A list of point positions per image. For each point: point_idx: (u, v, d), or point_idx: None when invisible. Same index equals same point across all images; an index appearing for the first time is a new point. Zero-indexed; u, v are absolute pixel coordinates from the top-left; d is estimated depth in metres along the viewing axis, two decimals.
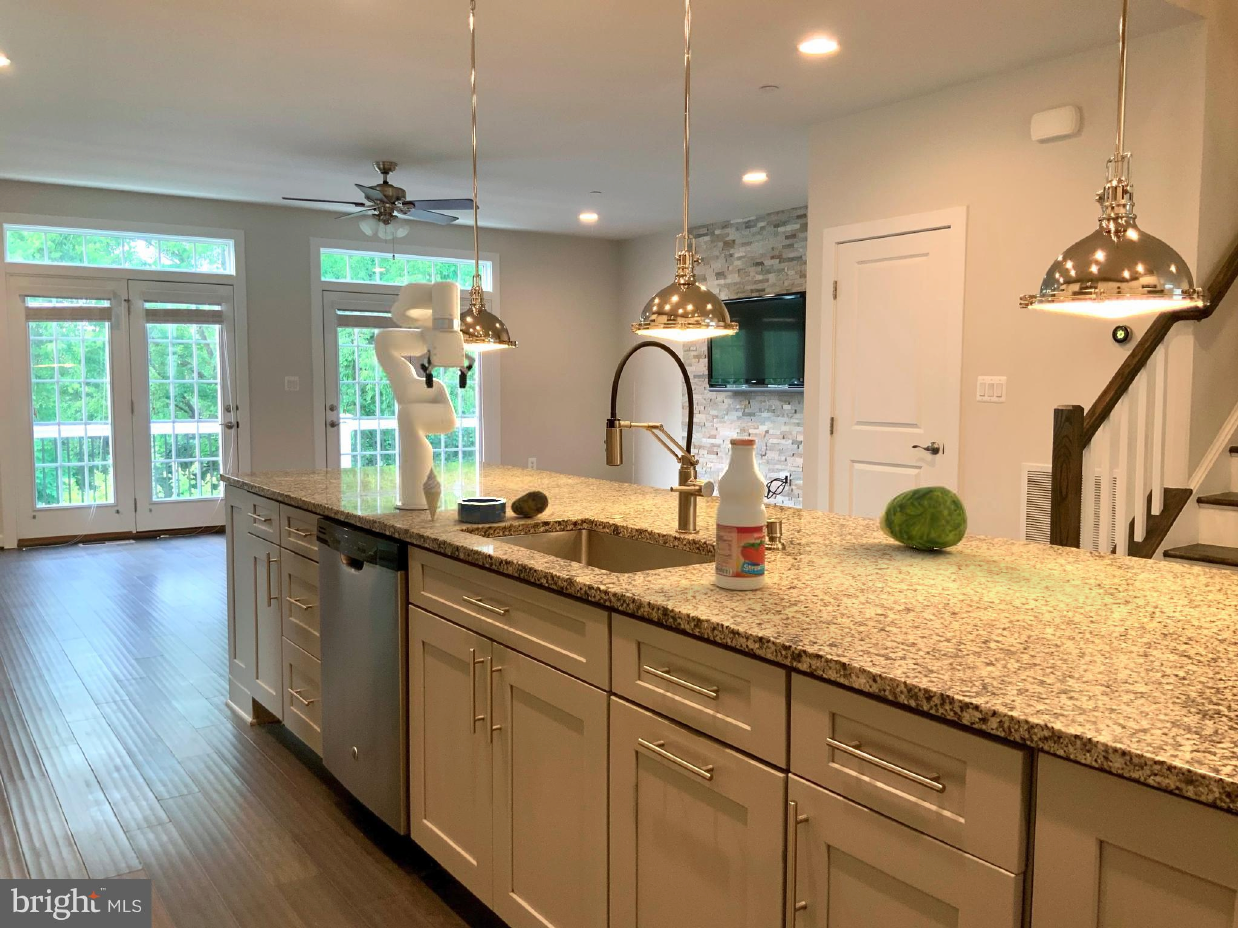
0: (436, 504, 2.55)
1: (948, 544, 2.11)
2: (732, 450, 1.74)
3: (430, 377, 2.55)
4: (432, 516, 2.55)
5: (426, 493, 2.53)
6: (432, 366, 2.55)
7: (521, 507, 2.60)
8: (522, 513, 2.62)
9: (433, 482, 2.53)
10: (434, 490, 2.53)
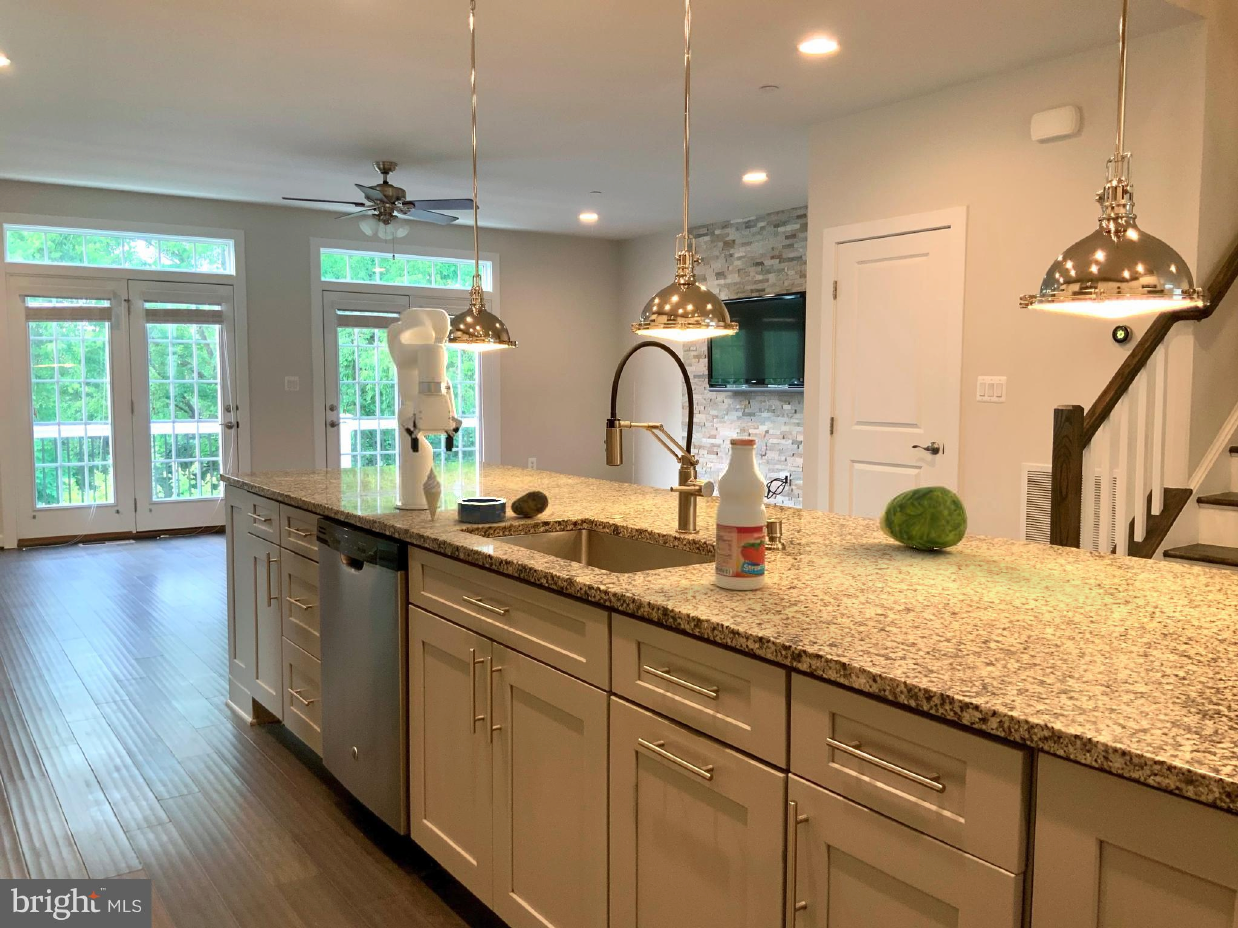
0: (436, 504, 2.55)
1: (948, 544, 2.11)
2: (732, 450, 1.74)
3: (416, 442, 2.50)
4: (432, 516, 2.55)
5: (426, 493, 2.53)
6: (417, 430, 2.50)
7: (521, 507, 2.60)
8: (522, 513, 2.62)
9: (433, 482, 2.53)
10: (434, 490, 2.53)
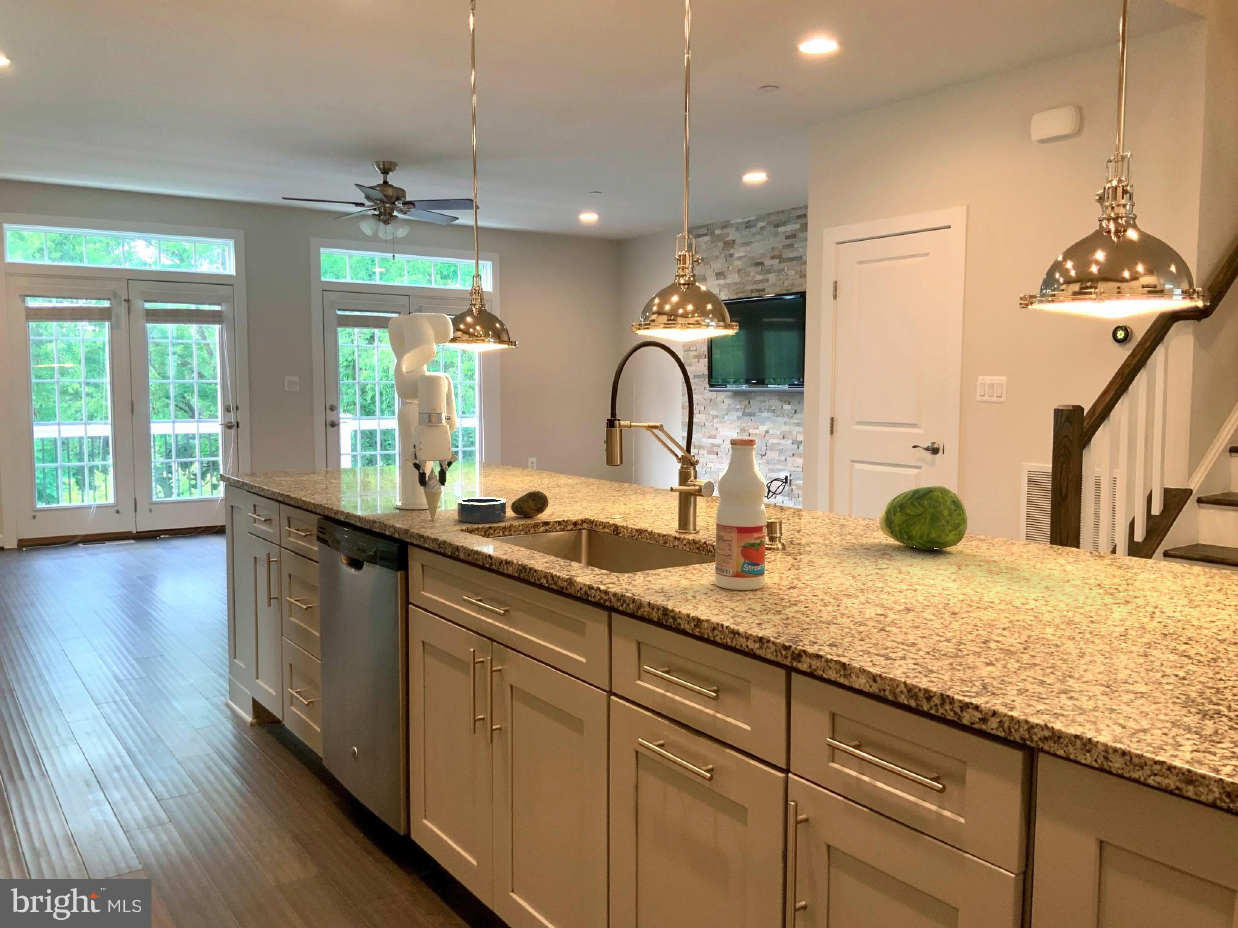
0: (436, 504, 2.55)
1: (948, 544, 2.11)
2: (732, 450, 1.74)
3: (423, 476, 2.52)
4: (432, 516, 2.55)
5: (426, 493, 2.53)
6: (423, 464, 2.52)
7: (521, 507, 2.60)
8: (522, 513, 2.62)
9: (434, 482, 2.53)
10: (434, 490, 2.53)
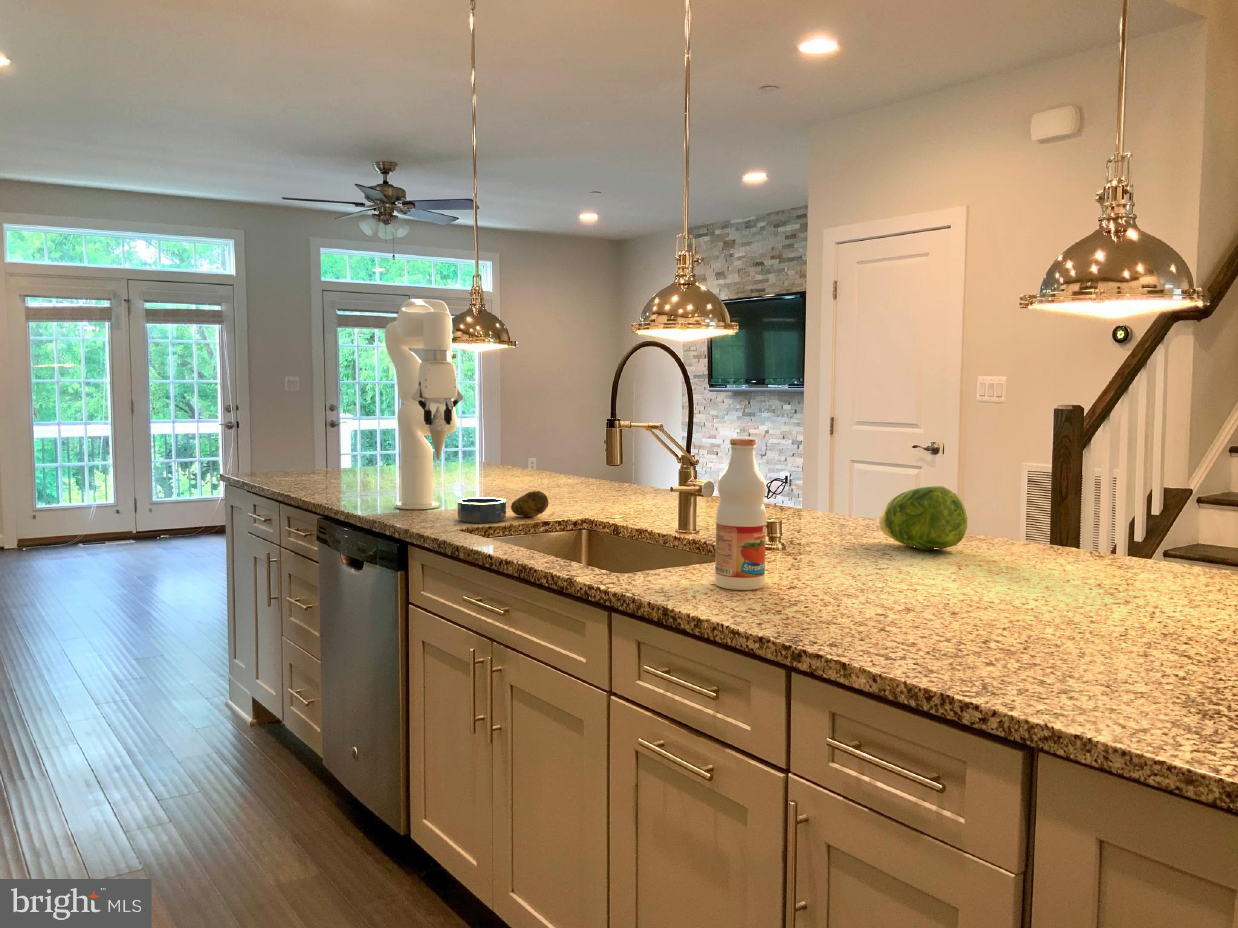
0: (442, 443, 2.52)
1: (948, 544, 2.11)
2: (732, 450, 1.74)
3: (429, 414, 2.50)
4: (437, 455, 2.53)
5: (432, 431, 2.51)
6: (428, 401, 2.49)
7: (521, 507, 2.60)
8: (522, 513, 2.62)
9: (439, 420, 2.51)
10: (440, 428, 2.51)
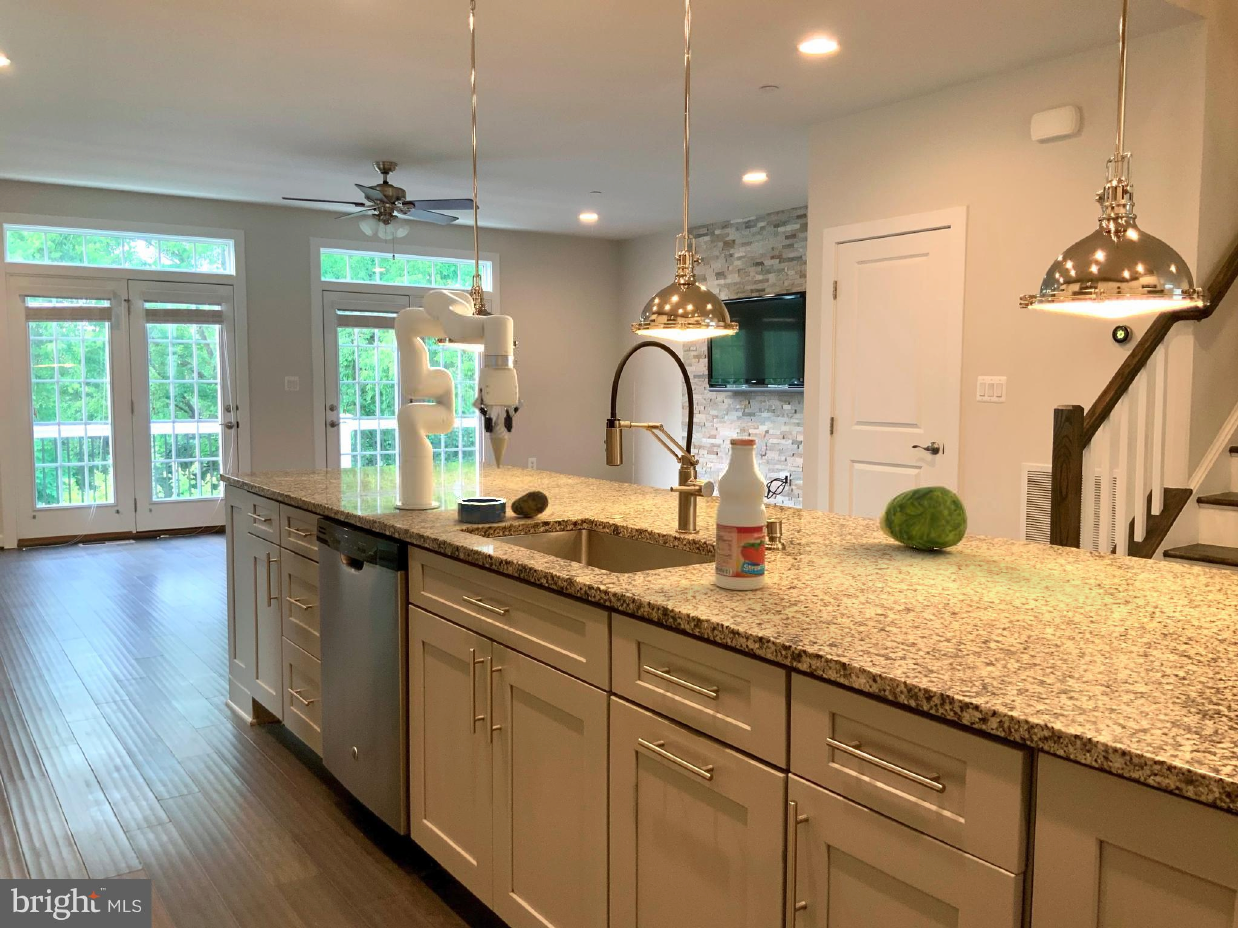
0: (502, 451, 2.45)
1: (948, 544, 2.11)
2: (732, 450, 1.74)
3: (490, 422, 2.42)
4: (498, 464, 2.45)
5: (493, 439, 2.43)
6: (489, 408, 2.42)
7: (521, 507, 2.60)
8: (522, 513, 2.62)
9: (500, 428, 2.44)
10: (501, 436, 2.44)
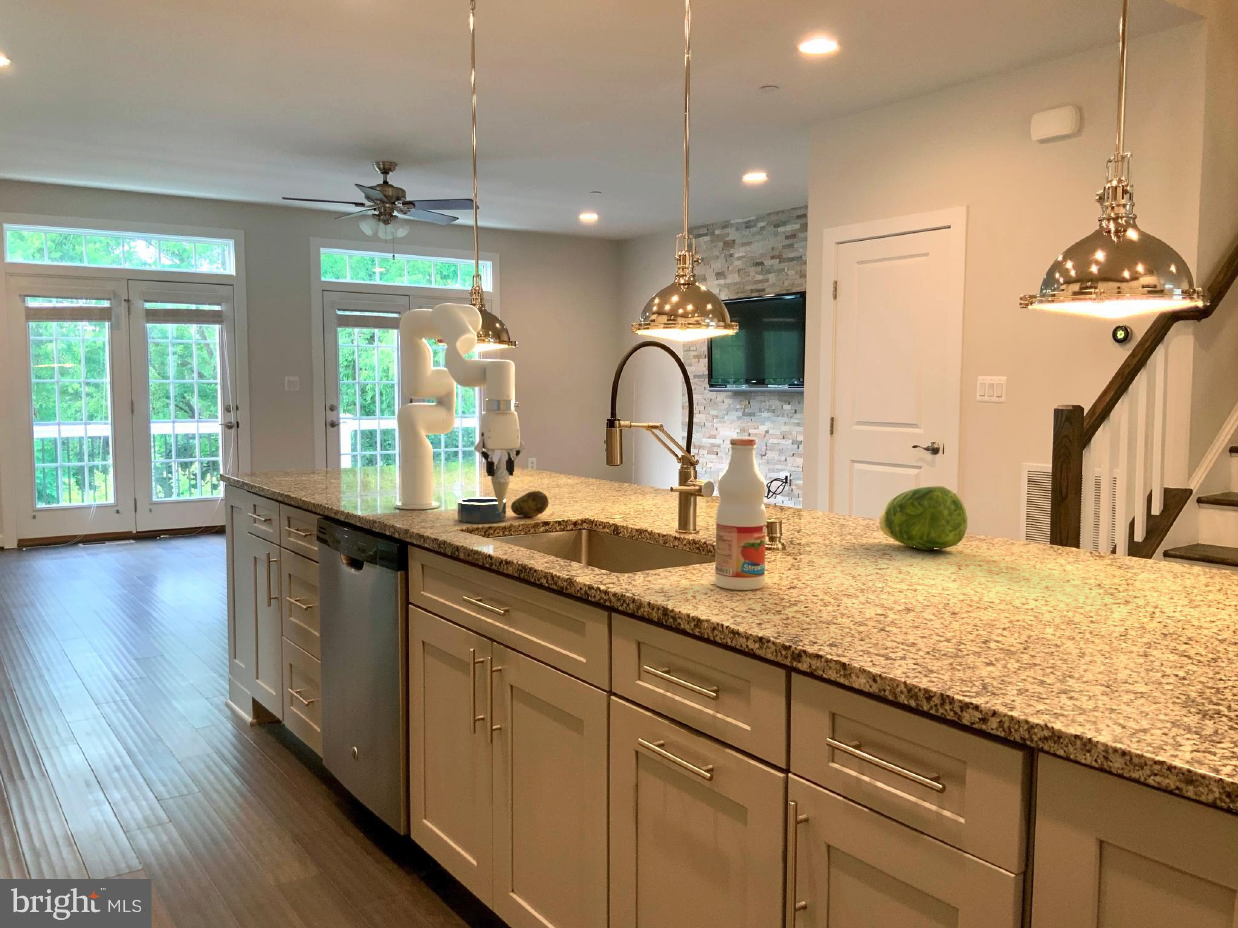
0: (504, 494, 2.46)
1: (948, 544, 2.11)
2: (732, 450, 1.74)
3: (492, 466, 2.43)
4: (500, 507, 2.46)
5: (495, 483, 2.44)
6: (491, 452, 2.43)
7: (521, 507, 2.60)
8: (522, 513, 2.62)
9: (502, 471, 2.44)
10: (503, 480, 2.44)
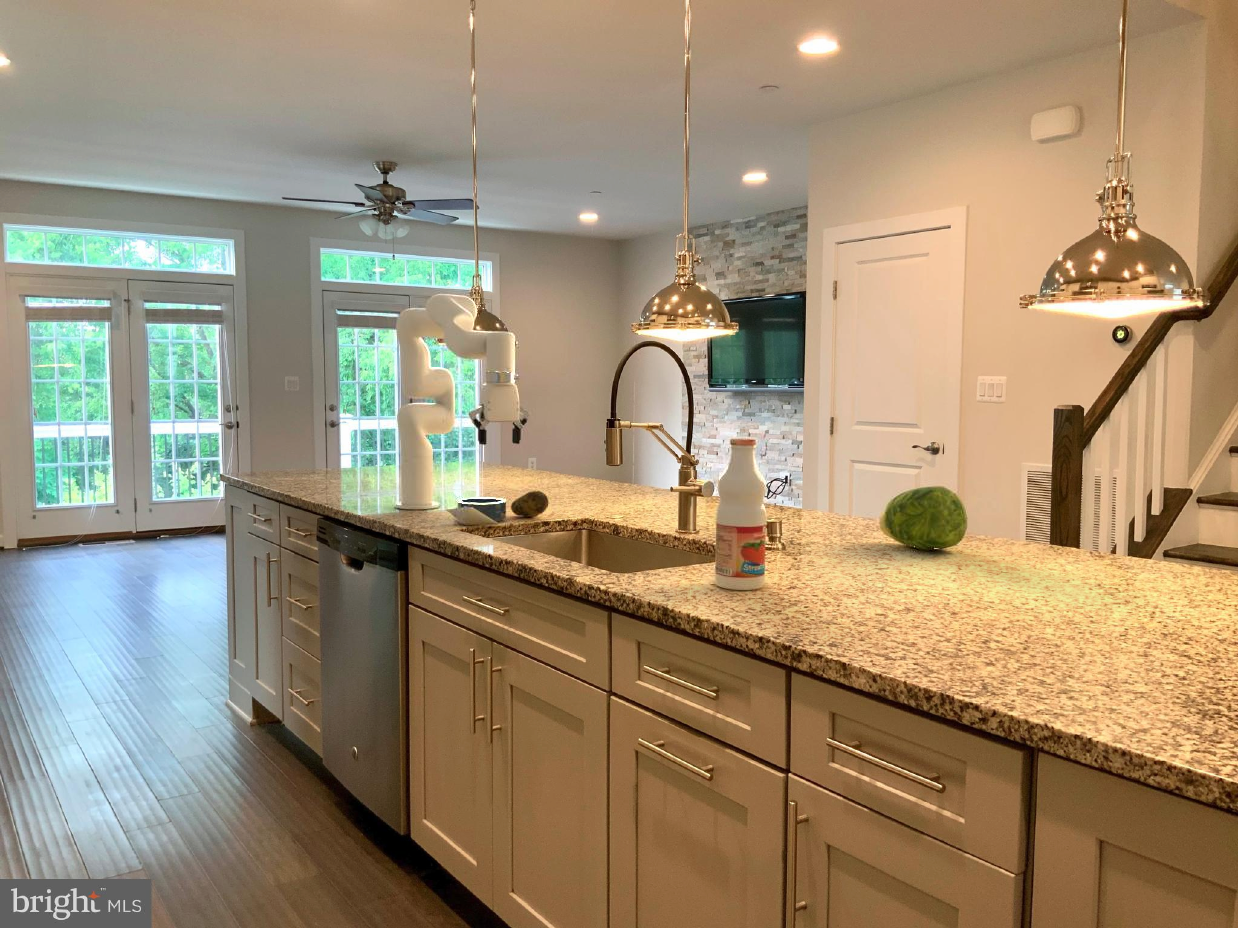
0: (480, 515, 2.46)
1: (948, 544, 2.11)
2: (732, 450, 1.74)
3: (484, 434, 2.41)
4: (492, 522, 2.46)
5: (467, 522, 2.46)
6: (485, 421, 2.41)
7: (521, 507, 2.60)
8: (522, 513, 2.62)
9: (458, 512, 2.47)
10: (465, 513, 2.46)
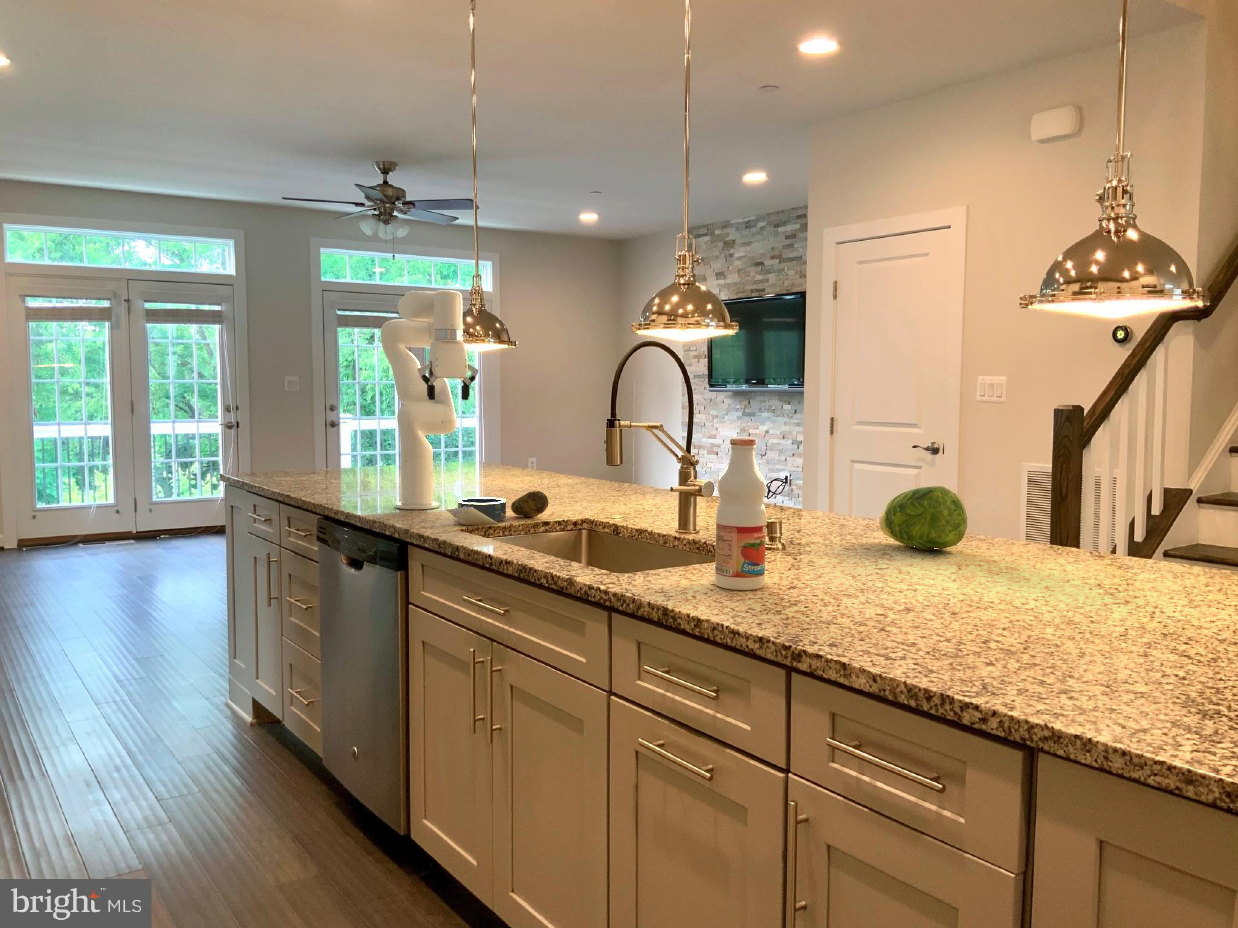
0: (480, 515, 2.46)
1: (948, 544, 2.11)
2: (732, 450, 1.74)
3: (432, 389, 2.49)
4: (492, 522, 2.46)
5: (466, 522, 2.46)
6: (434, 377, 2.49)
7: (521, 507, 2.60)
8: (522, 513, 2.62)
9: (458, 512, 2.47)
10: (465, 513, 2.46)
